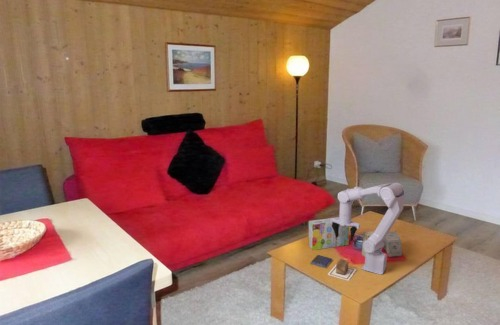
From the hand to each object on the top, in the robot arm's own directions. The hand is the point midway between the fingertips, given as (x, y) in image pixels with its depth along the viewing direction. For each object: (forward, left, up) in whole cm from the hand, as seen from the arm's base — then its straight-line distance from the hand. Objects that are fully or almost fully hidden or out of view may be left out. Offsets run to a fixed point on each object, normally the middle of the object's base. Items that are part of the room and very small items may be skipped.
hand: (344, 238), depth 186 cm
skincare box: (-11, -7, -10) cm, 16 cm away
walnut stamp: (-5, +16, -9) cm, 19 cm away
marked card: (-5, +16, -9) cm, 19 cm away
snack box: (+11, -6, -10) cm, 16 cm away
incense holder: (-20, -15, -10) cm, 27 cm away
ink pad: (+7, +12, -9) cm, 17 cm away
